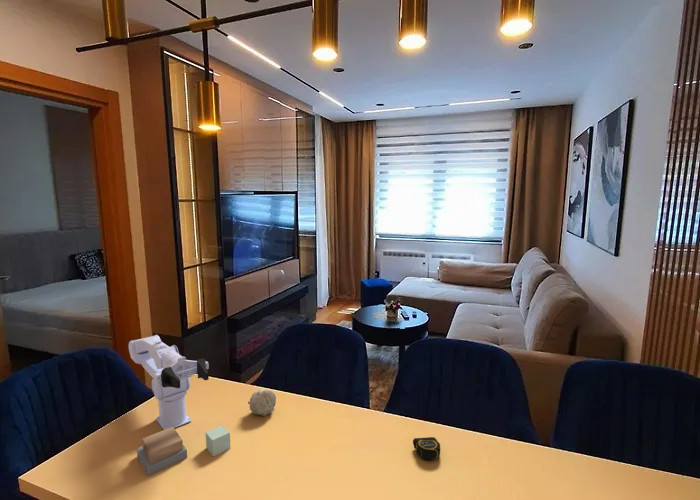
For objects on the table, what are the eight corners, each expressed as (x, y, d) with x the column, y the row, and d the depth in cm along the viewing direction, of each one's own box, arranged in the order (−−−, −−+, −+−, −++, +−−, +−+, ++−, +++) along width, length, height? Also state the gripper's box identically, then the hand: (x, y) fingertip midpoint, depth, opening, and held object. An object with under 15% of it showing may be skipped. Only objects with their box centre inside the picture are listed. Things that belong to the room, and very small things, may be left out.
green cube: (206, 448, 107) (205, 432, 106) (223, 440, 110) (222, 424, 109) (213, 456, 103) (212, 440, 102) (230, 448, 106) (229, 432, 106)
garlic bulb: (275, 417, 126) (284, 392, 124) (260, 426, 118) (269, 400, 117) (256, 402, 129) (264, 378, 128) (240, 411, 122) (249, 385, 121)
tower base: (137, 458, 103) (136, 448, 103) (175, 442, 110) (174, 432, 110) (147, 477, 96) (146, 467, 96) (187, 459, 103) (186, 449, 102)
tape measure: (435, 446, 108) (436, 434, 107) (443, 462, 101) (444, 450, 100) (412, 447, 107) (412, 435, 107) (418, 464, 100) (419, 451, 100)
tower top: (143, 448, 103) (142, 438, 102) (173, 436, 108) (172, 426, 108) (151, 463, 97) (150, 453, 96) (183, 449, 102) (182, 439, 102)
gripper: (149, 358, 107) (165, 373, 97) (200, 347, 117) (218, 359, 107) (150, 382, 107) (165, 399, 97) (200, 369, 117) (219, 383, 107)
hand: (193, 380), depth 102 cm, fingers open, 7 cm apart
